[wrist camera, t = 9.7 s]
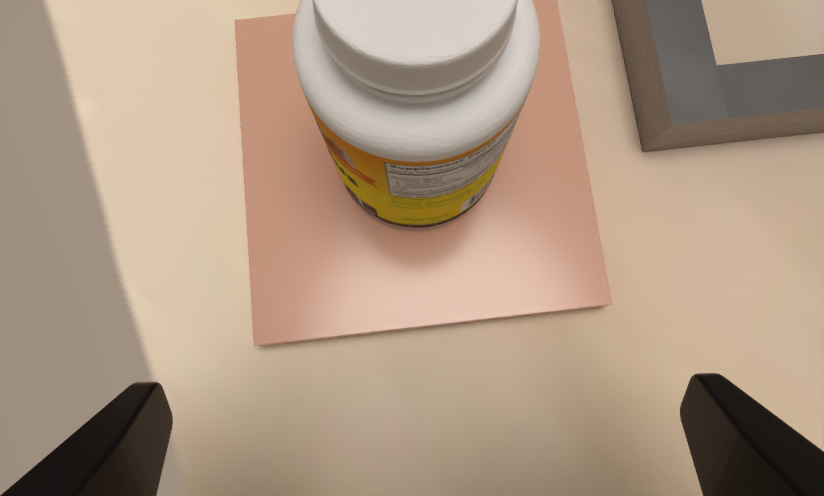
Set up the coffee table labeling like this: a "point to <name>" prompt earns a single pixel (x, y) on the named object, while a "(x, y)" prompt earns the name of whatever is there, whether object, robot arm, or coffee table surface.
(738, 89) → the frame
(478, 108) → the supplement bottle
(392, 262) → the tile
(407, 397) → the coffee table surface
